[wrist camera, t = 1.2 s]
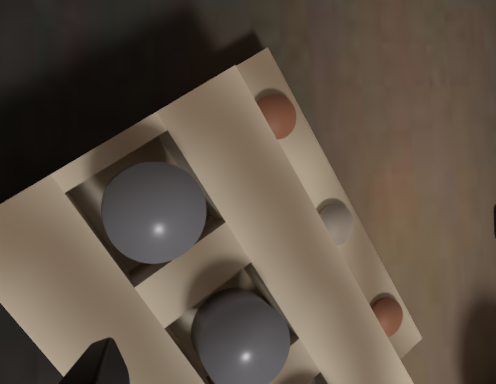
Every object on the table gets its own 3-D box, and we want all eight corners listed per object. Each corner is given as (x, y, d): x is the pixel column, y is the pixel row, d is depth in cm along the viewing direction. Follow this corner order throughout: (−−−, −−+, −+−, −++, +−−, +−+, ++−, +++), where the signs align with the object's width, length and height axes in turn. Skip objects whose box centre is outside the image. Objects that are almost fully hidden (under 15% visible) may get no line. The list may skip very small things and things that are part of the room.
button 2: (135, 269, 16) (141, 284, 14) (81, 194, 16) (80, 199, 13) (208, 217, 17) (224, 225, 15) (161, 145, 16) (172, 142, 14)
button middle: (219, 384, 18) (235, 412, 16) (174, 323, 17) (186, 344, 15) (281, 331, 19) (304, 352, 17) (242, 271, 18) (262, 284, 16)
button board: (214, 516, 21) (236, 580, 18) (-27, 222, 17) (-56, 237, 13) (409, 331, 25) (456, 356, 22) (259, 52, 21) (291, 31, 17)
